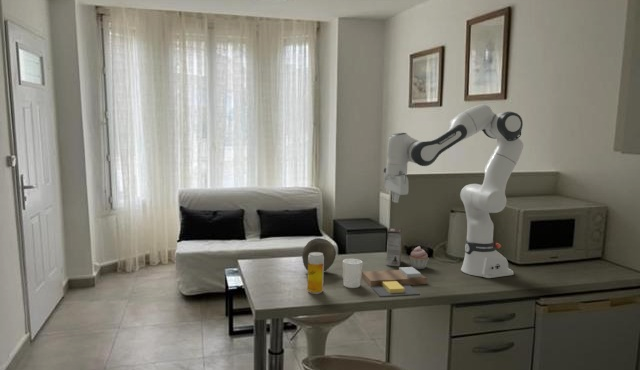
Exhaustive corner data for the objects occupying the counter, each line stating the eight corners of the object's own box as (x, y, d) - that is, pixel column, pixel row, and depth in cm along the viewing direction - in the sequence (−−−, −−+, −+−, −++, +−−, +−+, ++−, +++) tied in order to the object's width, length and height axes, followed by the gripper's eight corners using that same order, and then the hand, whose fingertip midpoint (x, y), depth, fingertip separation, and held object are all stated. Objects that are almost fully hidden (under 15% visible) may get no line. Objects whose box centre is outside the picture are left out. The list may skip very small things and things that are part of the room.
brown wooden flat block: (414, 274, 207) (415, 269, 207) (426, 283, 195) (426, 278, 195) (361, 277, 202) (362, 271, 202) (370, 286, 190) (370, 280, 190)
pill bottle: (307, 288, 186) (307, 251, 185) (322, 288, 187) (323, 251, 185) (307, 294, 180) (308, 256, 179) (323, 294, 181) (324, 255, 179)
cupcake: (432, 269, 215) (433, 248, 214) (414, 271, 212) (415, 249, 211) (421, 263, 224) (422, 243, 223) (404, 265, 221) (405, 244, 219)
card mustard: (396, 284, 193) (396, 280, 192) (404, 292, 184) (404, 288, 184) (381, 285, 191) (382, 281, 191) (389, 293, 183) (389, 289, 182)
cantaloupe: (316, 280, 197) (317, 244, 195) (295, 271, 208) (296, 238, 206) (341, 273, 207) (342, 239, 205) (319, 265, 217) (320, 233, 215)
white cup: (355, 290, 186) (356, 265, 185) (338, 286, 191) (339, 261, 189) (364, 284, 193) (365, 260, 192) (347, 280, 197) (348, 257, 196)
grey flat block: (412, 270, 205) (412, 266, 205) (420, 277, 196) (420, 273, 196) (398, 271, 204) (399, 267, 203) (407, 277, 195) (407, 273, 195)
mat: (408, 285, 193) (408, 284, 193) (419, 294, 183) (419, 293, 183) (370, 287, 190) (370, 286, 190) (379, 296, 179) (380, 295, 179)
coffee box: (387, 260, 229) (388, 227, 227) (400, 261, 228) (402, 228, 226) (386, 265, 220) (387, 231, 218) (400, 266, 219) (401, 232, 217)
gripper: (413, 173, 196) (411, 206, 198) (395, 168, 216) (394, 198, 218) (398, 173, 195) (397, 206, 196) (382, 168, 215) (380, 198, 216)
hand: (395, 202), depth 207 cm, fingers closed
